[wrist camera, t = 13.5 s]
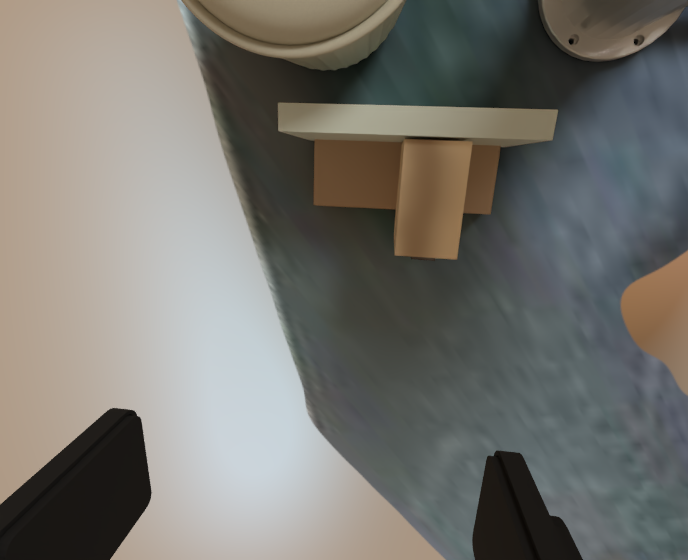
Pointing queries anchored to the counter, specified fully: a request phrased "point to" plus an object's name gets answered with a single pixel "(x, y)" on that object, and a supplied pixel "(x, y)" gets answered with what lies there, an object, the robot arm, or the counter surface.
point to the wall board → (385, 146)
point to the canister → (302, 27)
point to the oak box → (431, 198)
